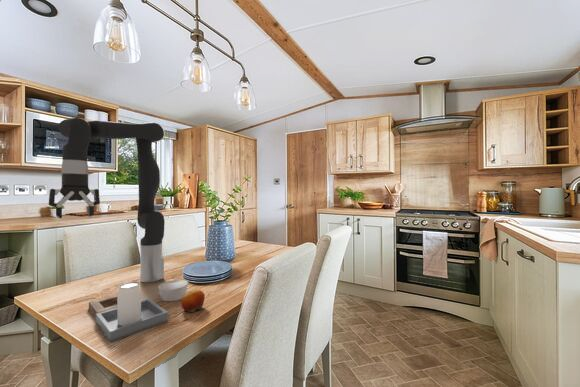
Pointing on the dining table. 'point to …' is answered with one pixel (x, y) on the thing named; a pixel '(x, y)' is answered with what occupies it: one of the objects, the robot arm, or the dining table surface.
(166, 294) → the ramekin
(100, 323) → the tray
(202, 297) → the fruit
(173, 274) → the dining table surface
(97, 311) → the square wooden frame
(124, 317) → the can
